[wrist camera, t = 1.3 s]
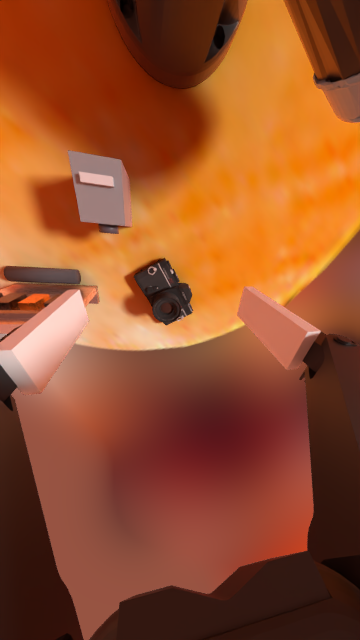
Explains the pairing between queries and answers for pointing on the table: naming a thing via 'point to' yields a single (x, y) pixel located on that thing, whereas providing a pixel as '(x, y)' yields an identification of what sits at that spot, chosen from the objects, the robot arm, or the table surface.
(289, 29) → the table surface
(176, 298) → the film camera
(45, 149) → the table surface
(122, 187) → the grey tall block
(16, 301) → the breaker panel
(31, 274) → the gray cylinder
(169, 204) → the table surface
